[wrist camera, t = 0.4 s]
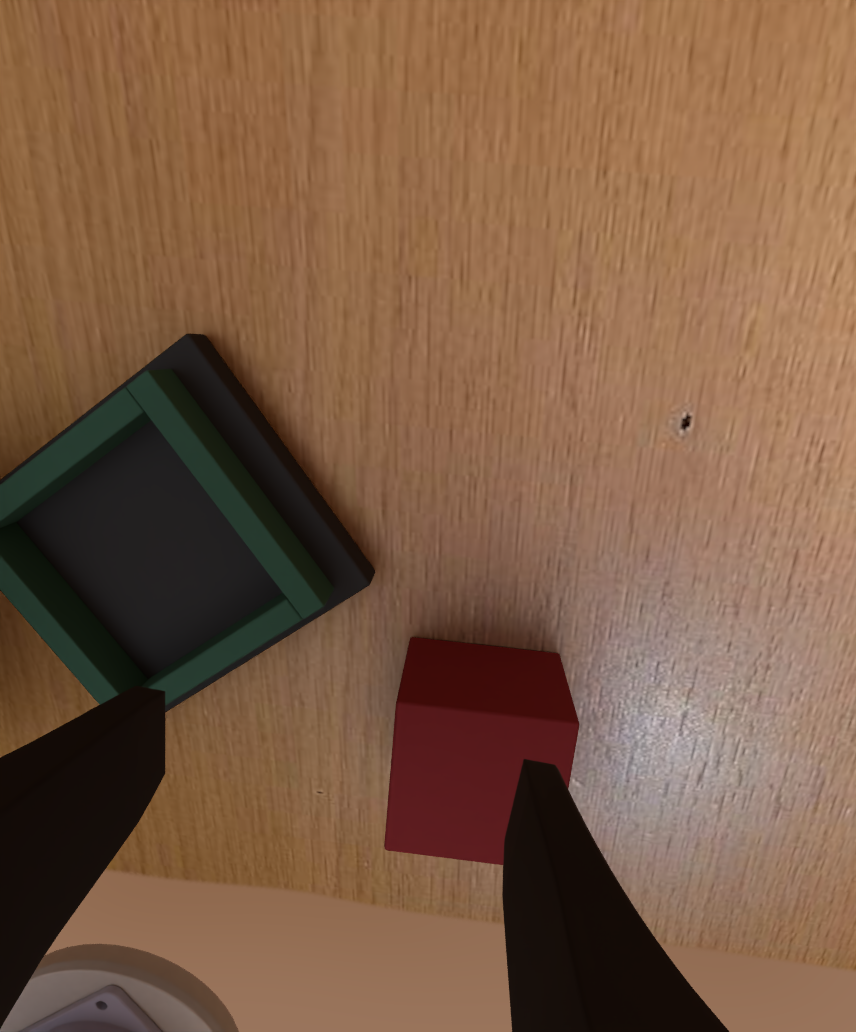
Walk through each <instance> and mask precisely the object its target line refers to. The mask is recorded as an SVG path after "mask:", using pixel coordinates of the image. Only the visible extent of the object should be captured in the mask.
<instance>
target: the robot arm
mask: <svg viewBox="0 0 856 1032" xmlns="http://www.w3.org/2000/svg"><path fill="white" fill-rule="evenodd" d="M164 775H165V691H162V690H157V689H151V688H146V687H141V686H134V687H132V688H130V689H128V690H126V691H124V692H123V693H121V694H119V695H117V696H115V697H113V698H111V699H110V700H108V701H106V702H104V703H102V704H100V705H99V706H97V707H95V708H93V709H91V710H90V711H88V712H86V713H84V714H82V715H81V716H79V717H77V718H75V719H73V720H72V721H70V722H68V723H66V724H64V725H62V726H60V727H59V728H57V729H55V730H53V731H51V732H49V733H48V734H46V735H44V736H42V737H40V738H38V739H36V740H35V741H33V742H31V743H29V744H27V745H25V746H23V747H21V748H19V749H17V750H15V751H13V752H11V753H9V754H7V755H5V756H3V757H1V758H0V1028H1V1026H2V1025H3V1023H4V1021H5V1020H6V1018H7V1016H8V1015H9V1013H10V1011H11V1010H12V1008H13V1006H14V1005H15V1003H16V1001H17V1000H18V998H19V996H20V995H21V993H22V991H23V989H24V988H25V986H26V984H27V983H28V981H29V979H30V978H31V976H32V974H33V973H34V971H35V969H36V968H37V966H38V964H39V963H40V961H41V960H42V958H43V957H44V955H45V954H46V952H47V951H48V949H49V948H50V946H51V945H52V943H53V942H54V940H55V939H56V937H57V936H58V934H59V933H60V931H61V930H62V929H63V927H64V926H65V924H66V923H67V922H68V920H69V919H70V917H71V916H72V915H73V913H74V912H75V910H76V909H77V908H78V906H79V905H80V903H81V902H82V901H83V899H84V898H85V897H86V895H87V894H88V892H89V891H90V890H91V888H92V887H93V885H94V884H95V883H96V881H97V880H98V878H99V877H100V876H101V874H102V873H103V872H104V870H105V869H106V867H107V866H108V865H109V863H110V862H111V860H112V859H113V858H114V856H115V855H116V853H117V852H118V851H119V849H120V848H121V846H122V845H123V843H124V842H125V841H126V839H127V838H128V836H129V835H130V834H131V832H132V831H133V829H134V828H135V826H136V825H137V823H138V822H139V820H140V818H141V817H142V815H143V813H144V811H145V810H146V808H147V806H148V804H149V803H150V801H151V799H152V797H153V795H154V793H155V791H156V790H157V788H158V786H159V784H160V782H161V780H162V778H163V776H164ZM503 911H504V925H505V939H506V952H507V966H508V978H509V979H508V980H509V992H510V1007H511V1020H512V1032H729V1031H728V1030H727V1028H726V1027H725V1026H724V1025H723V1024H722V1023H721V1022H720V1020H719V1019H718V1018H717V1017H716V1015H715V1014H714V1013H713V1012H712V1011H711V1009H710V1008H709V1007H708V1006H707V1005H706V1004H705V1002H704V1001H703V1000H702V999H701V998H700V996H699V995H698V994H697V993H696V992H695V991H694V989H693V988H692V987H691V986H690V984H689V983H688V982H687V981H686V979H685V978H684V977H683V975H682V974H681V973H680V971H679V970H678V969H677V967H676V966H675V965H674V964H673V962H672V961H671V959H670V958H669V957H668V955H667V954H666V952H665V951H664V950H663V948H662V947H661V946H660V944H659V943H658V942H657V940H656V939H655V937H654V936H653V934H652V933H651V932H650V930H649V929H648V927H647V926H646V924H645V923H644V921H643V920H642V918H641V917H640V915H639V914H638V912H637V911H636V909H635V908H634V906H633V905H632V903H631V901H630V900H629V898H628V897H627V895H626V893H625V892H624V890H623V889H622V887H621V886H620V884H619V882H618V881H617V879H616V877H615V876H614V874H613V872H612V871H611V869H610V867H609V866H608V864H607V862H606V860H605V858H604V857H603V855H602V853H601V851H600V850H599V848H598V846H597V844H596V843H595V841H594V839H593V837H592V835H591V834H590V832H589V830H588V828H587V826H586V824H585V822H584V820H583V818H582V816H581V814H580V812H579V811H578V809H577V807H576V805H575V803H574V801H573V799H572V796H571V794H570V792H569V790H568V788H567V786H566V784H565V782H564V780H563V777H562V775H561V773H560V771H559V769H558V768H557V767H556V765H554V764H549V763H544V762H538V761H533V760H528V759H524V760H523V764H522V768H521V772H520V776H519V781H518V785H517V789H516V793H515V797H514V801H513V806H512V810H511V814H510V818H509V822H508V826H507V831H506V835H505V839H504V861H503ZM19 1032H163V1031H162V1030H161V1029H160V1028H159V1027H158V1026H157V1025H156V1024H155V1023H154V1022H153V1021H152V1020H151V1019H150V1018H149V1017H148V1016H147V1015H146V1014H145V1013H144V1012H143V1010H142V1009H141V1008H140V1007H139V1006H138V1005H137V1004H136V1003H135V1002H134V1001H133V1000H132V999H131V998H130V997H129V996H128V995H127V994H126V993H125V992H124V991H123V990H122V989H121V988H120V987H118V986H116V985H110V986H106V987H104V988H103V989H101V990H99V991H97V992H95V993H93V994H91V995H89V996H87V997H85V998H83V999H81V1000H79V1001H77V1002H75V1003H73V1004H71V1005H69V1006H67V1007H66V1008H64V1009H62V1010H60V1011H58V1012H56V1013H54V1014H52V1015H50V1016H48V1017H46V1018H44V1019H42V1020H40V1021H38V1022H36V1023H34V1024H32V1025H30V1026H29V1027H27V1028H25V1029H23V1030H21V1031H19Z"/></svg>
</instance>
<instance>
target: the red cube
mask: <svg viewBox="0 0 856 1032" xmlns="http://www.w3.org/2000/svg"><path fill="white" fill-rule="evenodd" d="M578 730H579V721H578V717H577V714H576V710H575V707H574V703H573V700H572V696H571V693H570V690H569V686H568V683H567V679H566V676H565V672H564V669H563V665H562V662H561V658H560V655H559V654H558V653H551V652H542V651H533V650H524V649H515V648H506V647H497V646H488V645H479V644H470V643H461V642H452V641H443V640H434V639H425V638H416V637H411V638H410V641H409V646H408V650H407V655H406V659H405V664H404V669H403V673H402V678H401V683H400V687H399V692H398V696H397V701H396V710H395V722H394V735H393V747H392V759H391V771H390V783H389V795H388V808H387V820H386V832H385V844H384V847H385V849H386V850H389V851H397V852H404V853H412V854H420V855H428V856H436V857H444V858H452V859H460V860H467V861H475V862H483V863H491V864H499V865H503V861H504V839H505V835H506V831H507V826H508V822H509V818H510V814H511V810H512V806H513V801H514V797H515V793H516V789H517V785H518V781H519V776H520V772H521V768H522V764H523V760H524V759H528V760H533V761H538V762H544V763H549V764H554V765H556V767H557V768H558V769H559V771H560V773H561V775H562V777H563V780H564V782H565V784H566V786H567V788H568V787H569V781H570V775H571V770H572V764H573V758H574V753H575V747H576V741H577V735H578Z"/></svg>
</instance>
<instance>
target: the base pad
mask: <svg viewBox="0 0 856 1032" xmlns="http://www.w3.org/2000/svg"><path fill="white" fill-rule="evenodd" d="M374 574H375V570H374V568H373V567H372V566H371V564H370V563H369V561H368V560H367V559H366V557H365V556H364V554H363V553H362V552H361V550H360V549H359V548H358V546H357V545H356V543H355V542H354V541H353V539H352V538H351V536H350V535H349V534H348V532H347V531H346V530H345V528H344V527H343V525H342V524H341V523H340V521H339V520H338V518H337V517H336V516H335V514H334V513H333V512H332V510H331V509H330V507H329V506H328V505H327V503H326V502H325V501H324V499H323V498H322V496H321V495H320V494H319V492H318V491H317V489H316V488H315V487H314V485H313V484H312V483H311V481H310V480H309V478H308V477H307V476H306V474H305V473H304V471H303V470H302V469H301V467H300V466H299V465H298V463H297V462H296V460H295V459H294V458H293V456H292V455H291V453H290V452H289V451H288V449H287V448H286V447H285V445H284V444H283V442H282V441H281V440H280V438H279V437H278V435H277V434H276V433H275V431H274V430H273V429H272V427H271V426H270V424H269V423H268V422H267V420H266V419H265V418H264V416H263V415H262V413H261V412H260V411H259V409H258V408H257V406H256V405H255V404H254V402H253V401H252V400H251V398H250V397H249V395H248V394H247V393H246V391H245V390H244V388H243V387H242V386H241V384H240V383H239V382H238V380H237V379H236V377H235V376H234V375H233V373H232V372H231V370H230V369H229V368H228V366H227V365H226V364H225V362H224V361H223V359H222V358H221V357H220V355H219V354H218V352H217V351H216V350H215V348H214V347H213V346H212V344H211V343H210V341H209V340H208V339H207V337H206V336H205V335H201V334H186V335H184V336H183V337H182V338H181V339H179V340H178V341H177V342H175V343H174V344H173V345H172V346H170V347H169V348H168V349H167V350H165V351H164V352H163V353H161V354H160V355H159V356H158V357H156V358H155V359H154V360H153V361H151V362H150V363H149V364H147V365H146V366H145V367H144V368H142V369H141V370H140V371H139V372H137V373H136V374H135V375H133V376H132V377H131V378H130V379H128V380H127V381H126V382H124V383H123V384H122V385H121V386H119V387H118V388H117V389H116V390H114V391H113V392H112V393H110V394H109V395H108V396H107V397H105V398H104V399H103V400H102V401H100V402H99V403H98V404H96V405H95V406H94V407H93V408H91V409H90V410H89V411H88V412H86V413H85V414H84V415H82V416H81V417H80V418H79V419H77V420H76V421H75V422H74V423H72V424H71V425H70V426H68V427H67V428H66V429H65V430H63V431H62V432H61V433H59V434H58V435H57V436H56V437H54V438H53V439H52V440H51V441H49V442H48V443H47V444H45V445H44V446H43V447H42V448H40V449H39V450H38V451H37V452H35V453H34V454H33V455H31V456H30V457H29V458H28V459H26V460H25V461H24V462H23V463H21V464H20V465H19V466H17V467H16V468H15V469H14V470H12V471H11V472H10V473H9V474H7V475H6V476H5V477H3V478H2V479H1V480H0V590H1V591H2V593H3V594H4V595H5V596H6V597H7V598H8V599H9V601H10V602H11V603H12V604H13V605H14V606H15V608H16V609H17V610H18V611H19V612H20V613H21V614H22V616H23V617H24V618H25V619H26V620H27V621H28V623H29V624H30V625H31V626H32V627H33V628H34V629H35V631H36V632H37V633H38V634H39V635H40V636H41V638H42V639H43V640H44V641H45V642H46V643H47V644H48V646H49V647H50V648H51V649H52V650H53V651H54V653H55V654H56V655H57V656H58V657H59V658H60V659H61V661H62V662H63V663H64V664H65V665H66V666H67V668H68V669H69V670H70V671H71V672H72V673H73V674H74V676H75V677H76V678H77V679H78V680H79V681H80V683H81V684H82V685H83V686H84V687H85V688H86V689H87V691H88V692H89V693H90V694H91V695H92V696H93V698H94V699H95V700H96V701H97V702H98V703H99V704H102V703H104V702H106V701H108V700H110V699H111V698H113V697H115V696H117V695H119V694H121V693H123V692H124V691H126V690H128V689H130V688H132V687H134V686H141V687H146V688H151V689H157V690H162V691H165V712H166V711H168V710H170V709H171V708H173V707H175V706H176V705H178V704H179V703H181V702H183V701H184V700H186V699H187V698H189V697H191V696H192V695H194V694H195V693H197V692H199V691H200V690H202V689H203V688H205V687H207V686H208V685H210V684H211V683H213V682H215V681H216V680H218V679H219V678H221V677H223V676H224V675H226V674H227V673H229V672H231V671H232V670H234V669H236V668H237V667H239V666H240V665H242V664H244V663H245V662H247V661H248V660H250V659H252V658H253V657H255V656H256V655H258V654H260V653H261V652H263V651H264V650H266V649H268V648H269V647H271V646H272V645H274V644H276V643H277V642H279V641H280V640H282V639H284V638H285V637H287V636H289V635H290V634H292V633H293V632H295V631H297V630H298V629H300V628H301V627H303V626H305V625H306V624H308V623H309V622H311V621H313V620H314V619H316V618H317V617H319V616H321V615H322V614H324V613H325V612H327V611H329V610H330V609H332V608H333V607H335V606H337V605H338V604H340V603H341V602H343V601H345V600H346V599H348V598H350V597H351V596H353V595H354V594H356V593H358V592H359V591H361V590H362V589H364V588H366V587H367V586H369V585H370V583H371V581H372V579H373V576H374Z"/></svg>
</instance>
